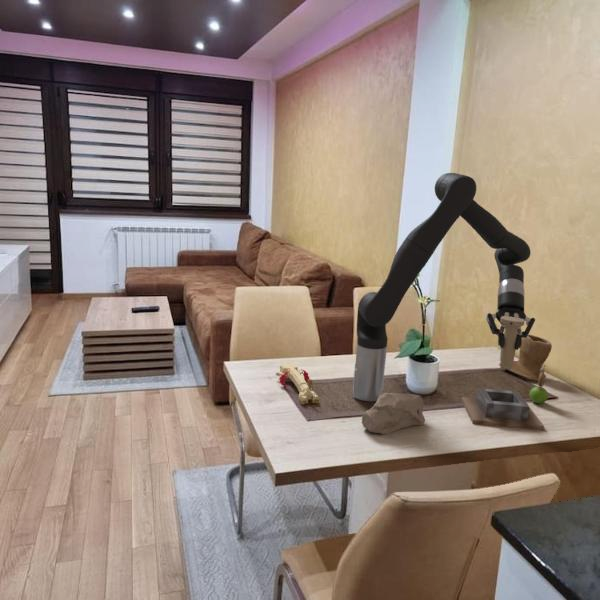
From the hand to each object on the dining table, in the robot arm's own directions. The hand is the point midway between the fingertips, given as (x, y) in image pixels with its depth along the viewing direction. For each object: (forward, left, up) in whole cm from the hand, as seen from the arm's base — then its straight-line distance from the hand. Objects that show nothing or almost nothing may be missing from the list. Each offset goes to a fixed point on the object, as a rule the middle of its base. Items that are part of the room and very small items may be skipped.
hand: (509, 347), depth 150 cm
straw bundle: (-61, +9, -23) cm, 66 cm away
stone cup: (+20, +40, -23) cm, 50 cm away
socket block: (+1, +3, -22) cm, 23 cm away
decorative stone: (-32, -11, -23) cm, 40 cm away
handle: (0, +2, -7) cm, 7 cm away
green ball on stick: (+16, +15, -23) cm, 32 cm away
